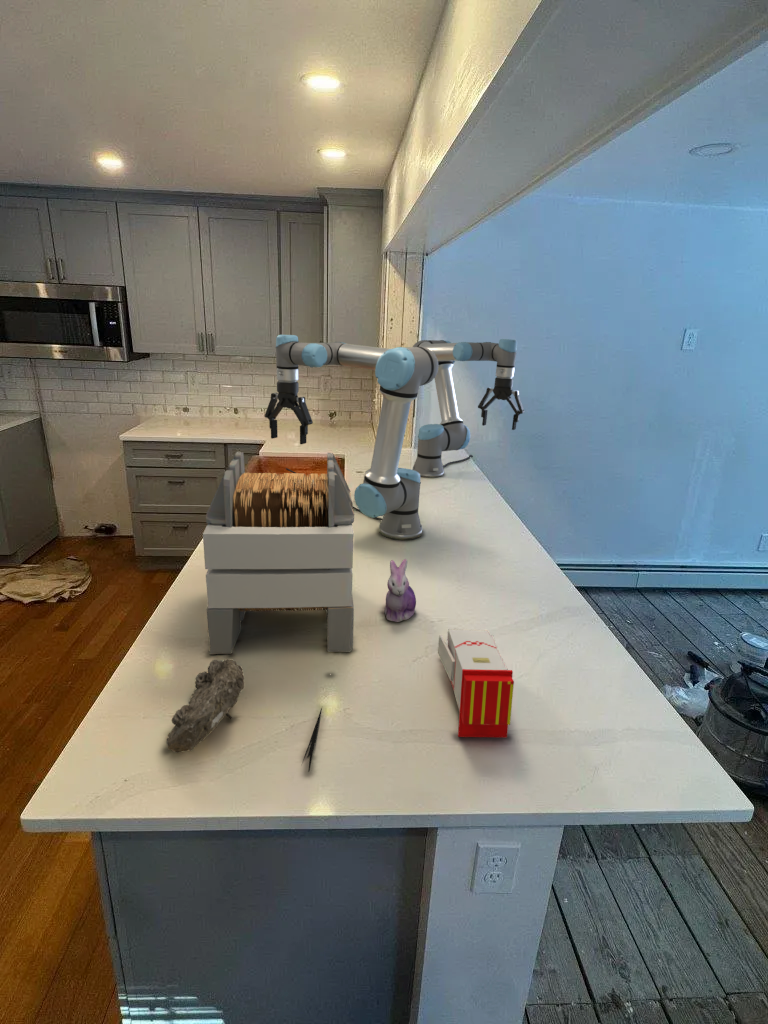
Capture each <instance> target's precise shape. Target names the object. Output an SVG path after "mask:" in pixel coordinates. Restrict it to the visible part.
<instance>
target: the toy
mask: <svg viewBox="0 0 768 1024" xmlns="http://www.w3.org/2000/svg"><path fill="white" fill-rule="evenodd" d="M446 640H447V643H446V641H445V639H444V636H443V635H442V634H439V637H438V646H437V656H438V657H439V659H440V661H441V663H442V666H443V668H444V670H445V672H446V674H447V677H448V679H449V681H450V684H451V687H452V690H453V693H454V697H455V701H456V705H457V708H458V711H459V714H458V715H459V716H458V730H457V731H458V732H457V737H458V738H508V731H509V726H510V725H511V717H512V707H513V697H514V696H513V695H514V684H515V680H514V679H513V673H514V671H513V670H512V669H508V667H507V665H506V662H505V661H504V659H503V658H502V655H501V653H500V651H499V649H498V647H497V643H496V639H495V637H494V635H493V634H491V632H490V631H489V629H467V628H466V629H465V628H463V629H461V628H460V629H459V628H448V630H447V639H446Z"/></svg>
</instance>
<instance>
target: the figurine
mask: <svg viewBox="0 0 768 1024" xmlns="http://www.w3.org/2000/svg"><path fill="white" fill-rule="evenodd" d="M407 567H408V559H406V558H404V559H403V560H402V561H401V563H400V565H399V566H398V565H397V563H396V562H395V561H394V560H393V559H391V560H390V561H389V570H390V576H389V578H388V579H387V589H388V591H387V592H386V594H385V595H386V596H385V607H384V615H385V616H386V620H387V621H391V622H395V623H400V622H402V621H406V620H409V619H410V618H411V617H413V616H414V615H415V610H416V606H417V597H416V593H415V591H414V590H413V587H411V586H410V582H409V579H408V577H407V574H406V571H407Z"/></svg>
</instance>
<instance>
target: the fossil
mask: <svg viewBox="0 0 768 1024" xmlns="http://www.w3.org/2000/svg"><path fill="white" fill-rule="evenodd" d="M243 670H244V669H243V667H242V665H240V664H237V662H236V661H235V660H234V659H232V658H231V659H227V658H226V659H224V660H223V661H222V660H217V659H212V660H211V661H210V663H209V665H208V666H207V671H201V672H199V673H198V674H197V675H196V676H195V680H194V684H195V685H194V687H195V689H194V690H193V693H192V694H191V697H190V698H189V700H188V704H184V705H182V706H181V707H180V709H177V710H176V711H175V713H174V715H173V716H172V718H171V723H172V724H173V727H172V730H171V731H170V732H168V734H167V738H166V741H167V742H166V745H167V749H168V750H169V751H173V752H174V753H176V754H178V753H182V752H188V751H189V752H192V751H193V750H195V748H196V747H197V746H199V744H200V743H201V742H203V741H204V740H205V739H206V738H207V737H208V736H209V735H210V734H211V733H212V732H214V730H215V729H217V727H218V726H219V724H220V722H221V721H222V720H223V719H224V718H225V716H226V717H227V719H229V720H233V717H232V715H230V714H229V710H230V709H231V708H234V706H235V704H236V703H237V702H238V699H239V697H240V695H241V693H242V691H243V690H245V689H244V688H245V675H244V671H243Z"/></svg>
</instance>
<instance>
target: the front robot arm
mask: <svg viewBox="0 0 768 1024" xmlns="http://www.w3.org/2000/svg"><path fill="white" fill-rule="evenodd" d="M275 361H276V362H275V363H276V380H277V382H276V392H271V393H270V400H269V402H268V406H267V407H266V411H265V413H264V418H265V419H268V421H269V424H268V425H269V429H270V439H277V438H278V437H279V436H278V420H277V417H278V416H279V414H280V413H281V411H282V410H283V409H285V408H287V409H290V410H291V411H293V413H294V415H295V416H296V418H297V420H298V421H299V423H300V425H299V444H300V445H304V444H307V435H308V434H309V425H313V424H314V422H313V419H312V416H311V413H310V411H309V408H308V406H307V401H306V397H305V396H299V395H298V394H299V387H300V386H299V382H298V381H299V380H300V379H299V375H300V374H299V366H303V367H309V368H312V369H313V368H321V367H323V366H341V367H349V368H350V367H351V368H356V369H363V370H369V371H374V375H375V378H376V379H377V380H376V381H377V383H378V384H379V388H378V389H379V392H380V394H381V395H382V401H381V408H380V413H379V418H378V423H377V429H376V434H375V435H376V436H375V441H374V448H373V453H372V458H371V465H370V468H368V469H367V470H366V471H365V472H364V475H363V476H364V477H363V481H362V483H360V484H359V485H358V486H356V487H355V490H354V494H353V496H354V497H353V498H354V502H355V503H354V504H355V505H356V507H355V506H353V510H355V511H357V512H359V513H361V514H363V515H364V516H365V517H368V518H372V519H375V520H377V521H381V522H379V525H378V533H379V534H380V535H381V536H382V537H385V538H387V539H389V540H395V541H410V540H415V539H418V538H420V537H421V536H422V535H423V525H422V524H421V518H420V515H419V507H420V506H419V505H420V494H421V493H420V492H421V482H422V481H421V476H420V474H419V473H418V472H417V471H414V470H412V469H411V468H406V467H399V464H400V459H401V456H402V455H401V454H402V449H403V445H404V439H405V434H406V431H407V430H406V429H407V425H408V420H409V415H410V409H411V404H412V402H413V401H414V400H416V399H417V398H418V394H419V390H420V387H422V386H425V385H427V384H429V383H431V382H432V381H433V380H435V376H436V374H437V372H438V360H437V357H436V355H435V354H434V353H433V352H432V351H431V350H430V349H428V348H425V347H413V346H405V347H404V346H397V347H393V348H387V347H380V346H379V347H377V346H371V345H370V346H369V345H362V344H352V343H346V342H344V341H343V342H342V341H334V342H333V341H332V342H300V341H299V337H298V336H297V335H296V334H279V335H277V336H276V338H275ZM285 470H286V471H288V472H290V473H297V472H295V471H293V470H292V469H290V468H288V467H285Z"/></svg>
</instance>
